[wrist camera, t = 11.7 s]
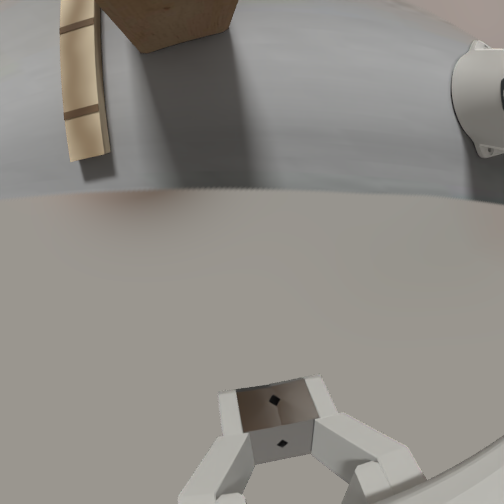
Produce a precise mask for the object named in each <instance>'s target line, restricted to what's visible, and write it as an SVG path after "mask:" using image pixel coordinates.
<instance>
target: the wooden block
mask: <svg viewBox="0 0 504 504" xmlns="http://www.w3.org/2000/svg"><path fill="white" fill-rule="evenodd" d="M94 1H95V2H96V3H97V4H98V5H99V6H100V7H101V9H102V10H103V11H104V12H105V13H106V14H107V15H108V16H109V17H110V19H111V20H112V21H113V22H114V23H115V24H116V25H117V26H118V28H119V29H120V30H121V31H122V32H123V33H124V34H125V36H126V37H127V38H128V39H129V40H130V41H131V42H132V44H133V45H134V46H135V47H136V48H137V49H138V50H139V52H140V53H150V52H153V51H156V50H159V49H162V48H165V47H169V46H172V45H175V44H179V43H182V42H186V41H189V40H193V39H197V38H201V37H204V36H209V35H213V34H217V33H221V32H224V31H225V30H227V29H228V28H229V25H230V22H231V20H232V17H233V14H234V11H235V8H236V5H237V3H238V0H94Z"/></svg>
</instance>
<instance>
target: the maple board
mask: <svg viewBox="0 0 504 504" xmlns="http://www.w3.org/2000/svg"><path fill="white" fill-rule="evenodd" d="M60 62H61V82H62V96H63V108H64V120H65V126H66V134H67V142H68V149H69V156H70V162H73V161H77V160H81V159H85V158H90V157H94V156H99V155H104V154H107V153H109V152H111V151H110V143H109V136H108V128H107V119H106V110H105V99H104V88H103V75H102V58H101V30H100V6H99V5H98V4H97V3H96V2H95V1H94V0H61V10H60Z"/></svg>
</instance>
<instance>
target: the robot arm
mask: <svg viewBox="0 0 504 504" xmlns="http://www.w3.org/2000/svg"><path fill="white" fill-rule="evenodd" d="M452 99H453V104H454V108H455V112H456V115H457V117H458V120H459V122H460V124H461V126H462V128H463V129H464V131H465V132H466V133H467V134H468V136H469V137H470V138H471V139H472V141H473V142H474V145H475V148H476V150H477V153H478V155H479V156H480V157H481V158H489V157H492V156H496V155H500V154H504V49H492V48H491V47H489V46H488V45H486V44H485V43H483V42H482V41H480V40H474V41H473V42H472V44H471V47H470V49H469V51H468V52H467V53H466V54H465V55H463V56H462V57H461V58H460V59H459V60H458V62H457V63H456V66H455V68H454V71H453V76H452ZM236 395H237V396H236ZM237 400H238V401H237ZM218 403H219V412H220V420H221V428H222V436H220V437H217V438H216V440H215V442H214V443H213V444H212V446H211V448H210V449H209V451H208V452H207V454H206V455H205V457H204V458H203V460H202V461H201V463H200V464H199V466H198V467H197V469H196V470H195V472H194V473H193V475H192V477H191V478H190V479H189V481H188V482H187V484H186V485H185V487H184V488H183V490H182V491H181V493H180V494H179V496H178V504H247V503H246V499H245V496H243V495H242V493H243V491H244V489H245V487H246V484H247V482H248V480H249V478H250V476H251V474H252V471H253V469H254V467H255V465H256V464H261V463H266V462H271V461H276V460H280V459H285V458H290V457H296V456H301V455H306V454H310V453H311V455H312V456H314V457H315V458H316V459H317V460H318V461H320V462H321V463H322V464H324V465H325V466H326V467H327V468H329V469H330V470H331V471H333V472H334V473H335V474H336V475H338V476H339V477H341V478H342V479H343V480H345V481H346V482H347V483H348V484H349V487H348V489H347V492H346V494H345V496H344V499H343V501H342V504H504V435H503V436H502V437H500V438H499V439H497V440H496V441H495V442H493V443H492V444H490V445H489V446H487V447H486V448H484V449H482V450H481V451H479V452H478V453H476V454H474V455H473V456H471V457H470V458H468V459H466V460H464V461H463V462H461V463H459V464H457V465H455V466H454V467H452V468H450V469H448V470H446V471H445V472H443V473H441V474H439V475H437V476H435V477H433V478H431V479H429V480H427V479H426V477H425V476H424V474H423V472H422V470H421V469H420V467H419V465H418V463H417V462H416V460H415V459H414V456H413V455H412V453H411V451H410V450H409V448H408V446H406V445H404V444H402V443H400V442H398V441H396V440H394V439H392V438H390V437H389V436H386V435H384V434H383V433H381V432H379V431H377V430H375V429H374V428H372V427H370V426H368V425H366V424H364V423H363V422H361V421H359V420H357V419H355V418H354V417H352V416H350V415H348V414H347V413H345V412H341V413H339V412H338V410H337V408H336V406H335V404H334V402H333V400H332V397H331V395H330V393H329V391H328V389H327V387H326V385H325V383H324V381H323V379H322V376H321V375H320V374H316V375H311V376H307V377H303V378H297V379H292V380H288V381H282V382H277V383H272V384H269V385H263V386H256V387H249V388H241V389H236V391H235V390H227V391H219V392H218ZM238 406H239V407H238Z"/></svg>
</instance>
